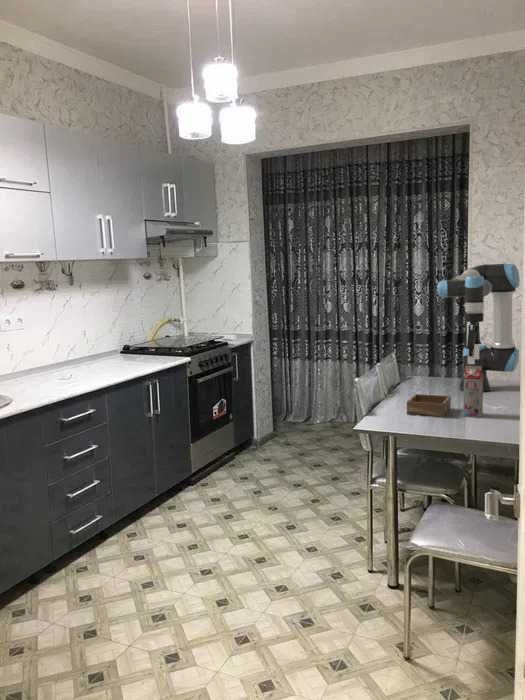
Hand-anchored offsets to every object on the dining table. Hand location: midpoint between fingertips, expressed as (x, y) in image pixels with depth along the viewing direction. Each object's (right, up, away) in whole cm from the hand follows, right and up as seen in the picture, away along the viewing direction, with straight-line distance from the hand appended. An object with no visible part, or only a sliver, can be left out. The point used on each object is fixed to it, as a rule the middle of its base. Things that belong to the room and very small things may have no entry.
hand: (473, 361), depth 254 cm
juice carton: (+1, -24, +4) cm, 24 cm away
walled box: (-16, -23, +12) cm, 31 cm away
